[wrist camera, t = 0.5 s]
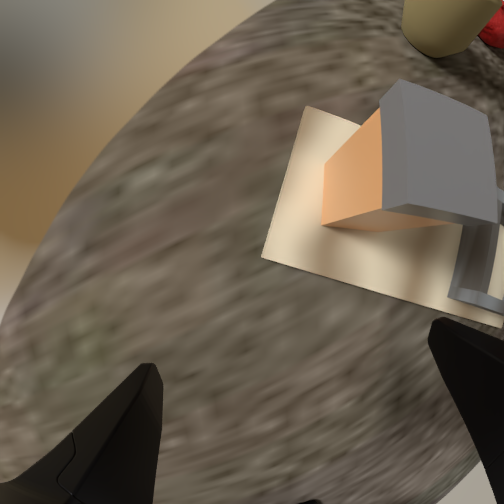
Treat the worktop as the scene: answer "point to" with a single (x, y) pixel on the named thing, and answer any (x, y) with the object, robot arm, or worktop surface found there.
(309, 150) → the board
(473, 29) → the squeeze bottle
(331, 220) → the plug
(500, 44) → the pomegranate
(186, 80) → the worktop surface
